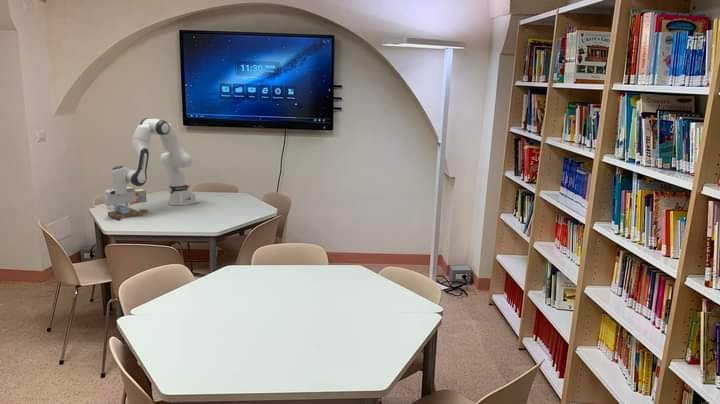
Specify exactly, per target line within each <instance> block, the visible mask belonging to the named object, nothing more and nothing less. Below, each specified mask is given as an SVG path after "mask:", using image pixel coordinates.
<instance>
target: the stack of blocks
mask: <svg viewBox="0 0 720 404" xmlns="http://www.w3.org/2000/svg"><path fill="white" fill-rule="evenodd" d="M127 189H134V190H135V191H136V194H135V195H136V202H132V203H130V205H133V204H134V205H135V204H140V203H145V202H147V192H146V191H147V190H146V189H143V188H139V189H135V187H132V186H127Z"/></svg>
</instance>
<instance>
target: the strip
mask: <svg viewBox="0 0 720 404" xmlns="http://www.w3.org/2000/svg"><path fill="white" fill-rule="evenodd" d="M116 207H117V208H119V211H117V212H120V213H122V214H123V215H124V214H126V213H129V208H130V207H129V208H128V207H125V206H123V205H120V204H119V205H117V206H116ZM113 211H116V209H115V207H114V209H113Z"/></svg>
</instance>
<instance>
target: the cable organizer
mask: <svg viewBox="0 0 720 404" xmlns="http://www.w3.org/2000/svg"><path fill="white" fill-rule="evenodd" d="M117 205H119V204H117ZM120 205H123V206H125V205H126V204H120ZM130 206H131V204H130V203H128V206H127V207H128V208H131V207H130ZM106 208H107V210H109V211H113V210H114V206H113V205H110V206H106Z"/></svg>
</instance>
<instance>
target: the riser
mask: <svg viewBox="0 0 720 404" xmlns="http://www.w3.org/2000/svg"><path fill="white" fill-rule="evenodd" d="M139 212H141V214H145V213H149V209H148V208H141V209H139Z"/></svg>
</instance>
